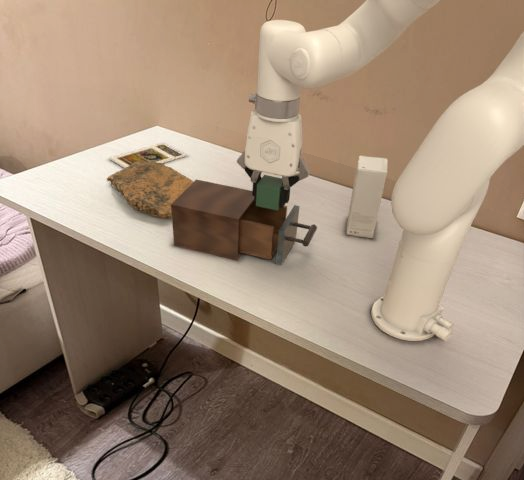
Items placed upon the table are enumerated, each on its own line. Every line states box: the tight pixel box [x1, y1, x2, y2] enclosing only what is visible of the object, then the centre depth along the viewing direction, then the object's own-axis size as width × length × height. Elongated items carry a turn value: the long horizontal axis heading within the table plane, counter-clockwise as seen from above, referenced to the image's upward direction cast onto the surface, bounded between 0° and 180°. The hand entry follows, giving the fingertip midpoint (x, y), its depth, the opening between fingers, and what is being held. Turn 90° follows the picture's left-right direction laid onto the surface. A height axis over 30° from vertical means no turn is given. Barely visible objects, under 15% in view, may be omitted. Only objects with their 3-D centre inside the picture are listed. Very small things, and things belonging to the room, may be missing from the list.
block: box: [256, 174, 283, 211], centre depth 96 cm, size 5×5×5 cm
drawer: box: [239, 202, 318, 266], centre depth 102 cm, size 18×11×8 cm, turn 72°
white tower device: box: [345, 155, 389, 239], centre depth 109 cm, size 8×7×16 cm
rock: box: [106, 161, 194, 219], centre depth 118 cm, size 25×6×20 cm
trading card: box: [109, 142, 187, 169], centre depth 136 cm, size 11×1×18 cm
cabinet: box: [171, 179, 254, 261], centre depth 104 cm, size 15×13×10 cm
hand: (270, 201), depth 98 cm, fingers closed on block, 4 cm apart
